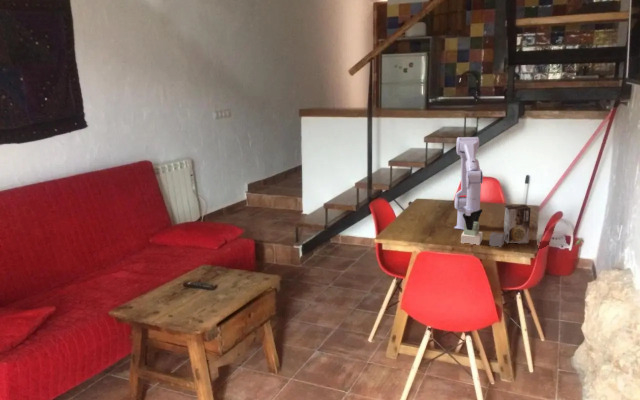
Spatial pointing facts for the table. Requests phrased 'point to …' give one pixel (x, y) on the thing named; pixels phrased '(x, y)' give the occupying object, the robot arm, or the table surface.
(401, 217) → the table surface
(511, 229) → the coffee box
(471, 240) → the cream base block
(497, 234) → the grey cube
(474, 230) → the green cube
